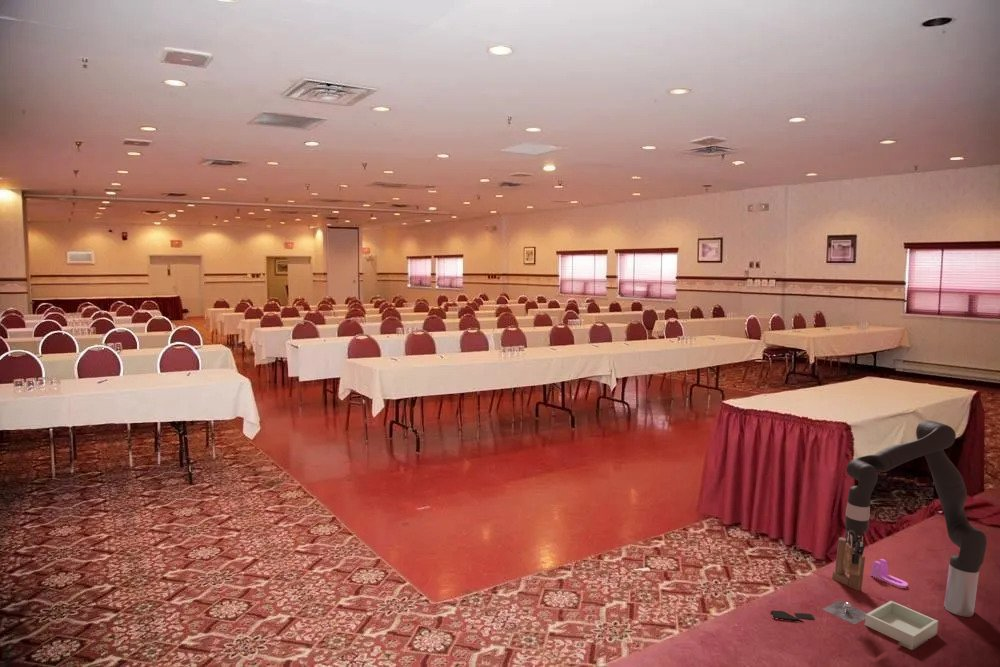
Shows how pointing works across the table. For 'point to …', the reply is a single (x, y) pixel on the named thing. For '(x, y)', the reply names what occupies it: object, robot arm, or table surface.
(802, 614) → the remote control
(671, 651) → the table surface
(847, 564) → the strut
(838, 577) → the brown wooden angled stand
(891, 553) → the table surface
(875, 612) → the tray
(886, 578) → the bracket
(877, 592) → the table surface
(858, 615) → the stud plate
